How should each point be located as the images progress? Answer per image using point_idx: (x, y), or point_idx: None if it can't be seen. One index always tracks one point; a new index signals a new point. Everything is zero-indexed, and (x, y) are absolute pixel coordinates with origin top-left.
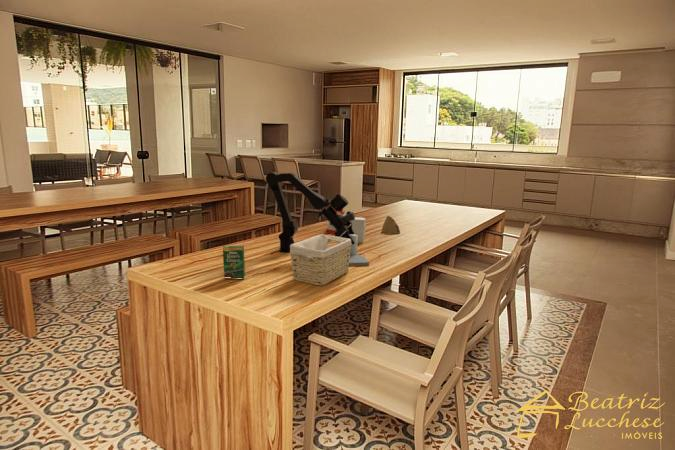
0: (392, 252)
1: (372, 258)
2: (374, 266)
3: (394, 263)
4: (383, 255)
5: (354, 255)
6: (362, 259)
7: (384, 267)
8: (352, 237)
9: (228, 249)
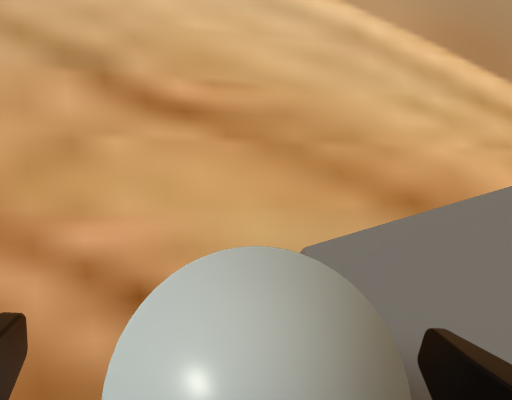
0: (20, 4)
1: (275, 169)
2: (496, 158)
3: (358, 33)
4: (144, 78)
5: None
6: (470, 243)
7: (481, 97)
8: (390, 393)
9: None
